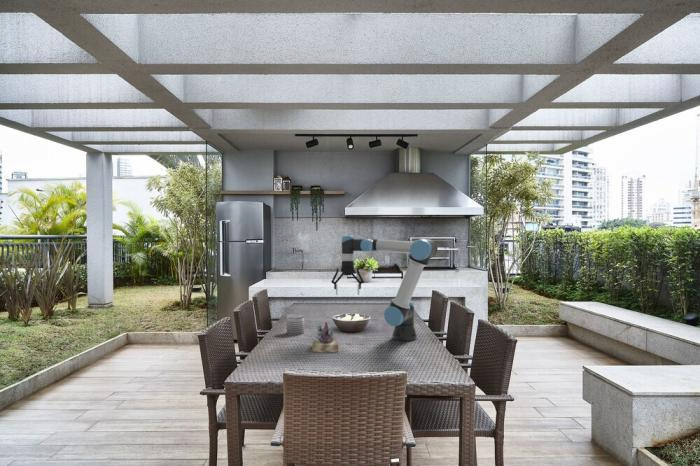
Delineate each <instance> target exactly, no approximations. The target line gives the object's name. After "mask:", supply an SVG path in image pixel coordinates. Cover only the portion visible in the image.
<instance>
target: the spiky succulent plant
mask: <svg viewBox="0 0 700 466" xmlns="http://www.w3.org/2000/svg"><path fill="white" fill-rule="evenodd" d="M316 329H317V332H316V333H317V334H316V335H317V336H315V339H318V340H319V341H320V342H321V343H325V342H326V343H330V342H332V341H333V340H334V339H335V334H334V331H333V330H331V331H330V330H329V326H328V322H327V321H325V323H324V326H323V328H322V325H321V324H319V325H317V327H316Z"/></svg>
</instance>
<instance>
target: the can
mask: <svg viewBox="0 0 700 466" xmlns="http://www.w3.org/2000/svg"><path fill="white" fill-rule="evenodd" d="M286 334H288V335H287V336H303V335H305V314H303V313H294V314H288V315H287V316H286ZM302 334H303V335H302Z"/></svg>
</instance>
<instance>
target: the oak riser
mask: <svg viewBox="0 0 700 466" xmlns="http://www.w3.org/2000/svg"><path fill="white" fill-rule="evenodd" d="M311 352H312V353H339V340H338V338H334V340H333V341H332V342H330V343H326V342H325V343H321V342H320V341H319V340H318V339H317V338H313V339H312V351H311Z"/></svg>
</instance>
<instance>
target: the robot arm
mask: <svg viewBox="0 0 700 466" xmlns="http://www.w3.org/2000/svg"><path fill="white" fill-rule="evenodd" d="M438 248H439V247H438V244H437V243H436V241H434V240H433V239H428V238H426V239H425V238H419V239H417V240H415V241H414V240H413V241H411V240H410V241H409V240H394V239H375V238H355V237H354V236H353V235H343V236H342V237H341V268H338V267H337V268H336V271H335V273H334V275H333V276H332V279H331V282H330V283H331V284H333V288H334V290H335V295H336V296H337V295H338V284H337V283H338V282H339V281H340V280H341V278H342V277H344V276H352V277H353V278H354V279H355V280H356V282H357V295H358V296H359V295H360V290H362V284H364V283H365V281H364V279H363V278H362V275H361V273H360V269H359V268H358V267H357V268H354V267H355V266H354V265H355V264H354V263H355V262H354V260H355V256H354V252H385V253H395V254H397V253H399V254H408V255H409V256H408V260H409V264H408V266H407V268H406V271H405V273H404V275H403V278H402V280H401V283H400V286H399V288H398V290H397V293H396V296H395V298H392V299H391V301H390V303H389V306H387V308H386V309H385V310H384V313H383V316H384V317H383V318H384V321H386V323H387V324H388V325H390V326H391V327H394V328H393V330H392V335H391V338H392V339H393V340H395V341H401V342H403V341H404V342H409V341H416V340H417V339H418V335H417V332H416V327H415V304H414V302H413V301H411V299H412V297H413V295H414V293H415V289H416V287H417V286H418V282H419V280H420V278H421V275H422V272H423V270H424V267H427V266H428V265H429V262H430V261H431V259H432V258H434V257H435V256H436V255H437V253H438ZM339 272H341V274H340V275H339V276H338V274H339ZM354 272H355V273H356V274H357V276H358V277H359V279H358V277H357V276H356V275H355V274H354ZM337 276H338V277H337ZM336 278H337V279H336Z"/></svg>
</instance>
